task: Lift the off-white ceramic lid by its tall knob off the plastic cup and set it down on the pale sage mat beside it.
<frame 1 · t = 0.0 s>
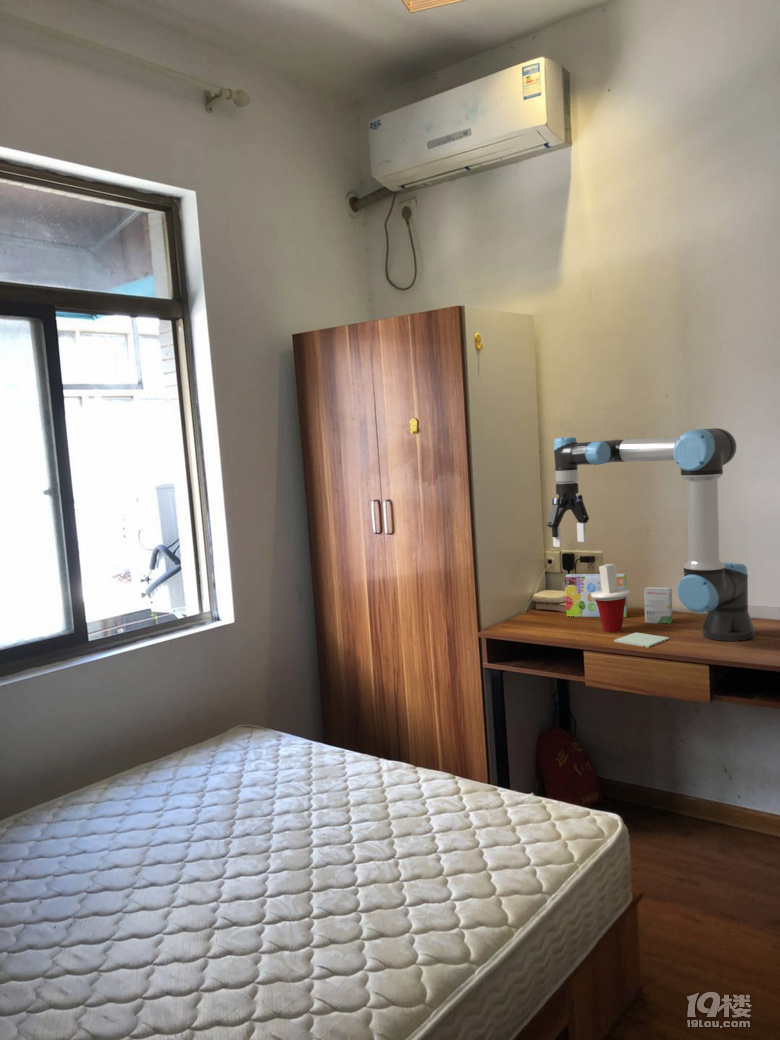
hand: (569, 544, 281), 28 cm above the table, tool pointing down, fingers open, 13 cm apart
lid: (610, 595, 269), point 12 cm above the table, touching plastic cup
snack box: (596, 616, 294), on the table
mat: (641, 640, 255), on the table
plastic cup: (611, 631, 271), on the table, touching lid
ink box: (658, 622, 278), on the table
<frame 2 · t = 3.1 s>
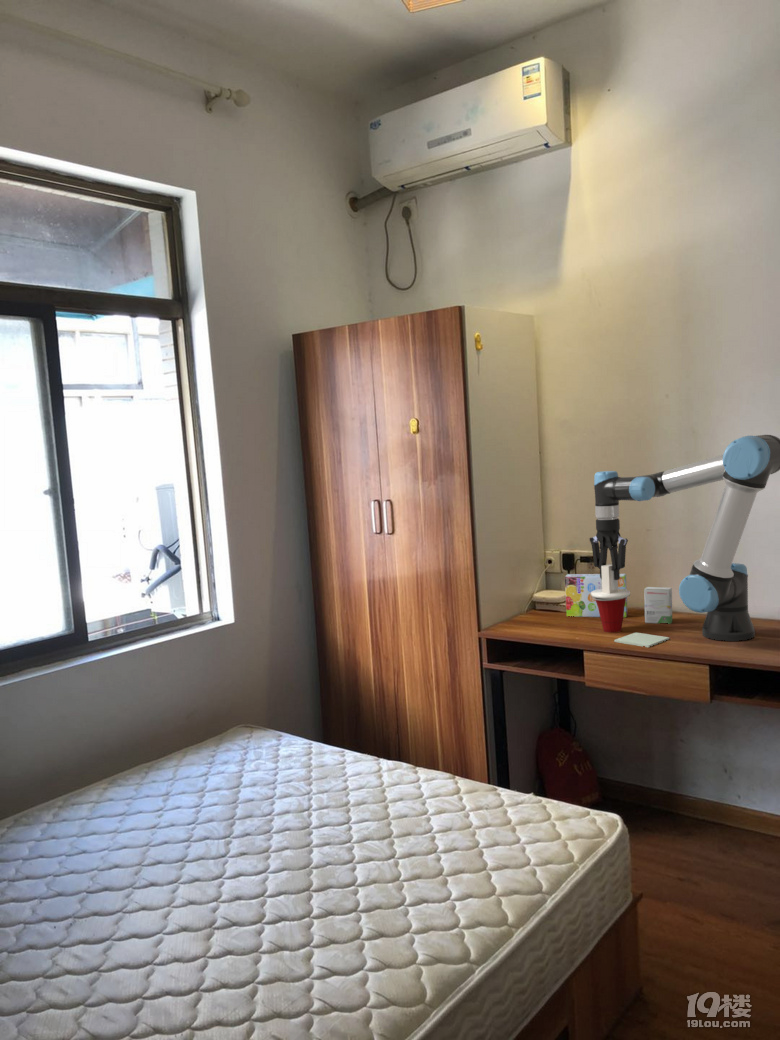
hand: (610, 588, 269), 14 cm above the table, tool pointing down, fingers closed on lid, 3 cm apart
lid: (610, 594, 269), point 12 cm above the table, touching gripper, plastic cup
everything else where it was.
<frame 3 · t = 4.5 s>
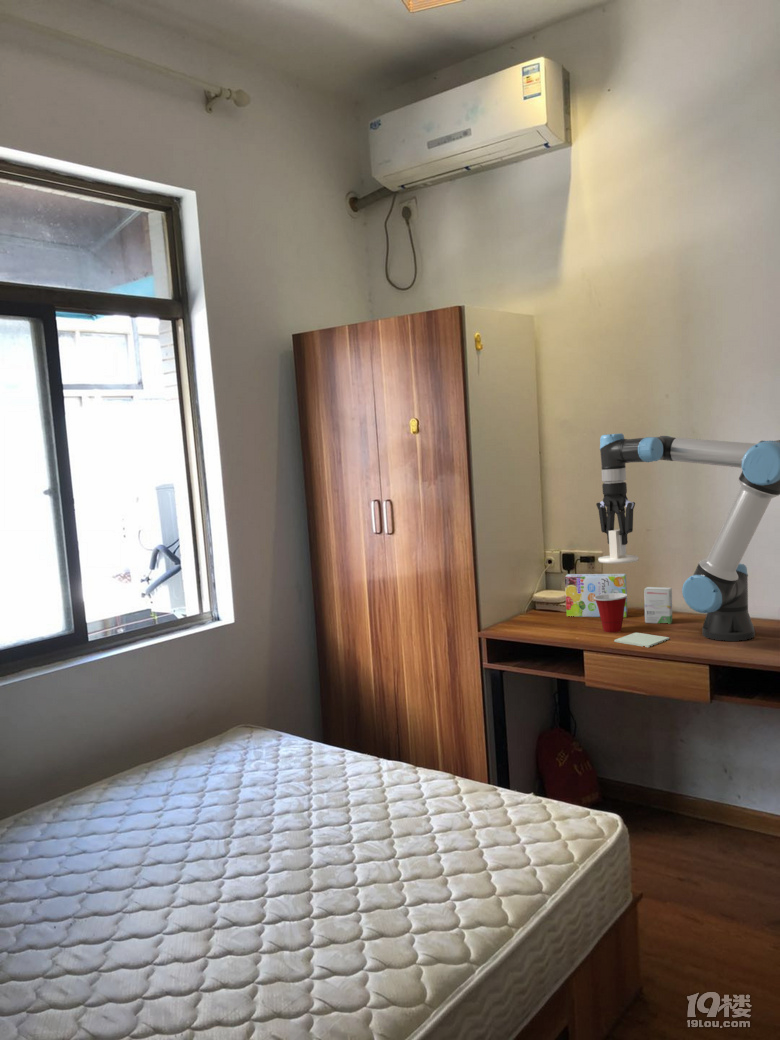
hand: (618, 554, 264), 26 cm above the table, tool pointing down, fingers closed on lid, 3 cm apart
lid: (618, 560, 264), point 24 cm above the table, touching gripper
plastic cup: (611, 631, 271), on the table
everything else where it was.
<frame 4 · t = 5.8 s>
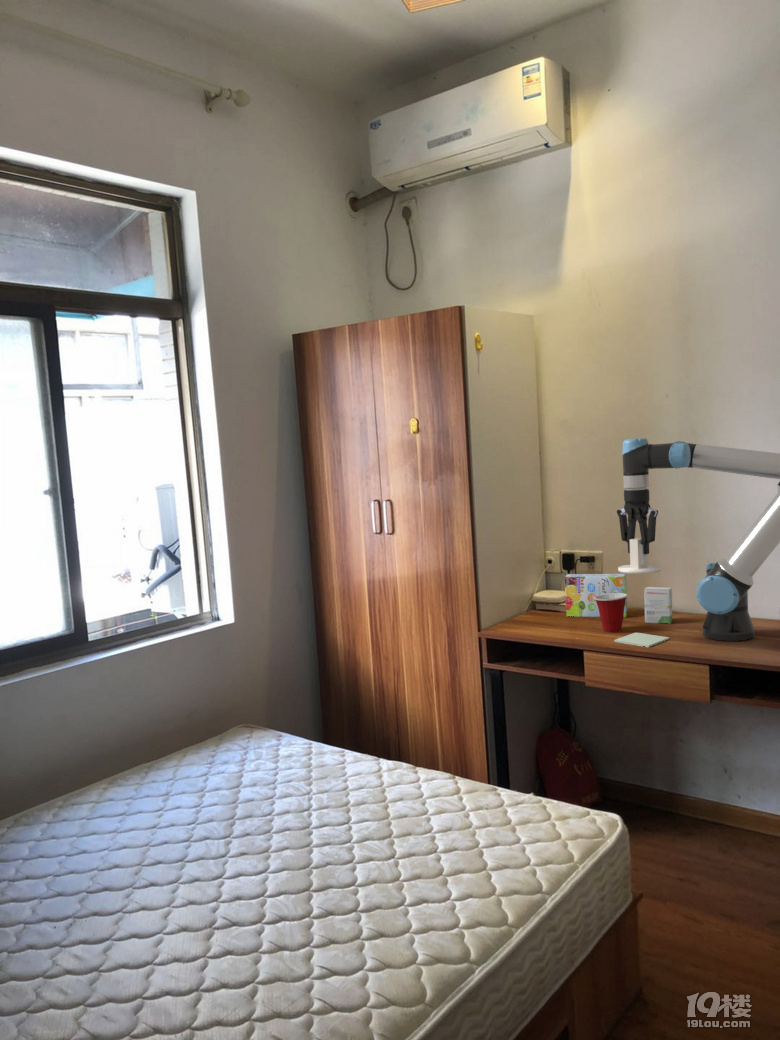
hand: (638, 564, 253), 24 cm above the table, tool pointing down, fingers closed on lid, 3 cm apart
lid: (639, 570, 253), point 22 cm above the table, touching gripper
everything else where it was.
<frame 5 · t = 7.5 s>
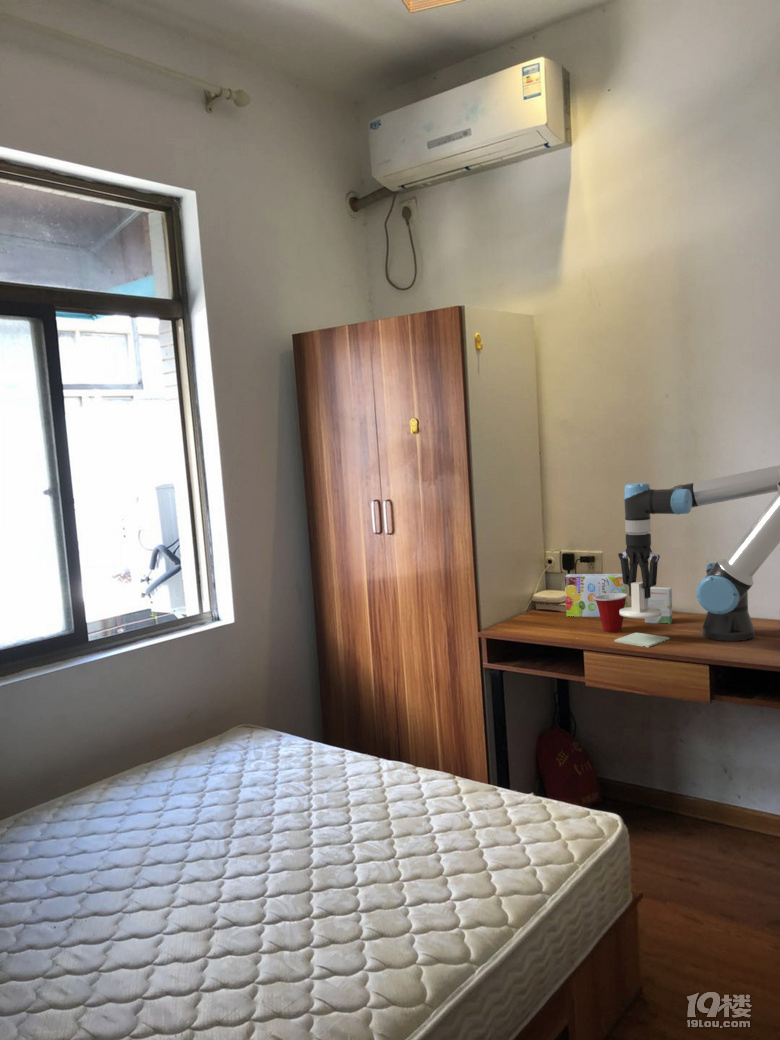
hand: (640, 607, 254), 11 cm above the table, tool pointing down, fingers closed on lid, 3 cm apart
lid: (640, 613, 255), point 8 cm above the table, touching gripper
everything else where it was.
when the fingers open (4 cm above the table, at t = 8.9 s): lid drops 1 cm, resting on mat.
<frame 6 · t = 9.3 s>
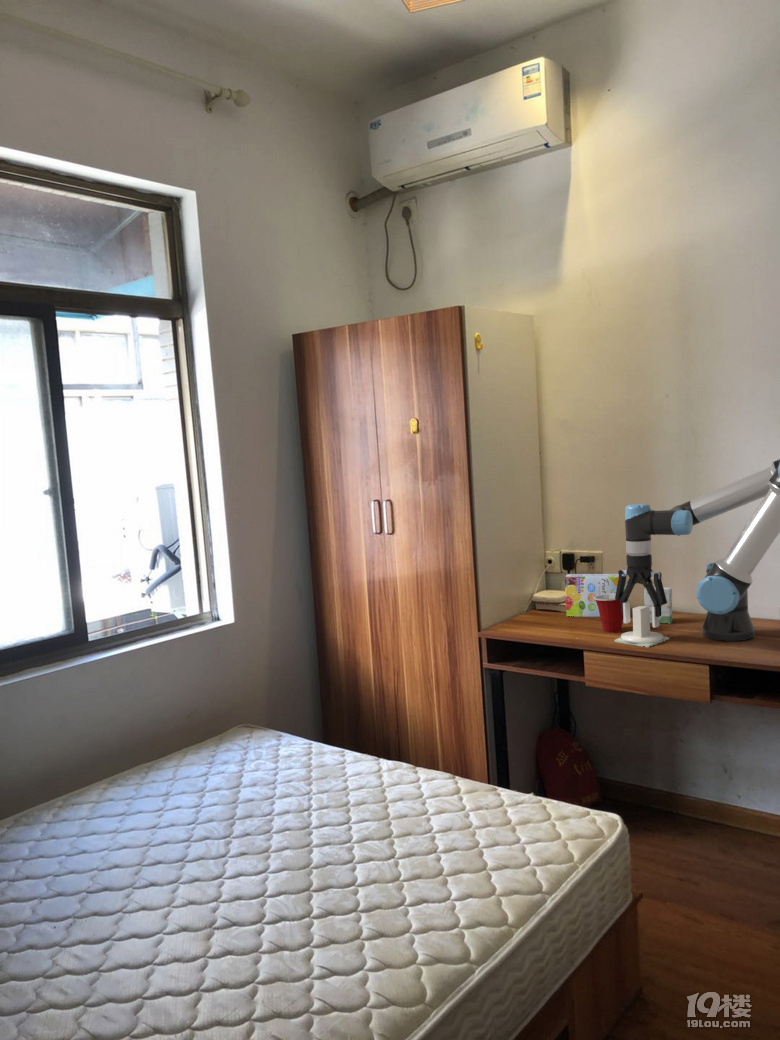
hand: (641, 624, 255), 5 cm above the table, tool pointing down, fingers open, 9 cm apart
lid: (641, 638, 255), point 1 cm above the table, touching mat
everything else where it was.
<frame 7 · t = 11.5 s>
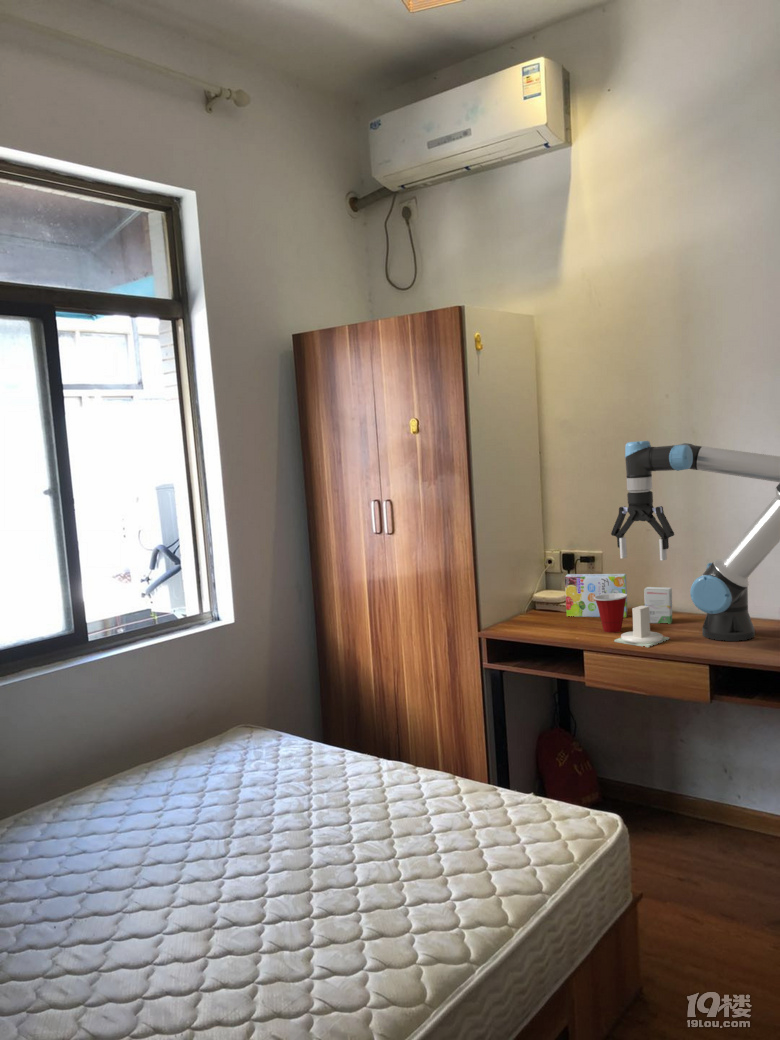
hand: (643, 559, 255), 26 cm above the table, tool pointing down, fingers open, 13 cm apart
nothing on the table moved.
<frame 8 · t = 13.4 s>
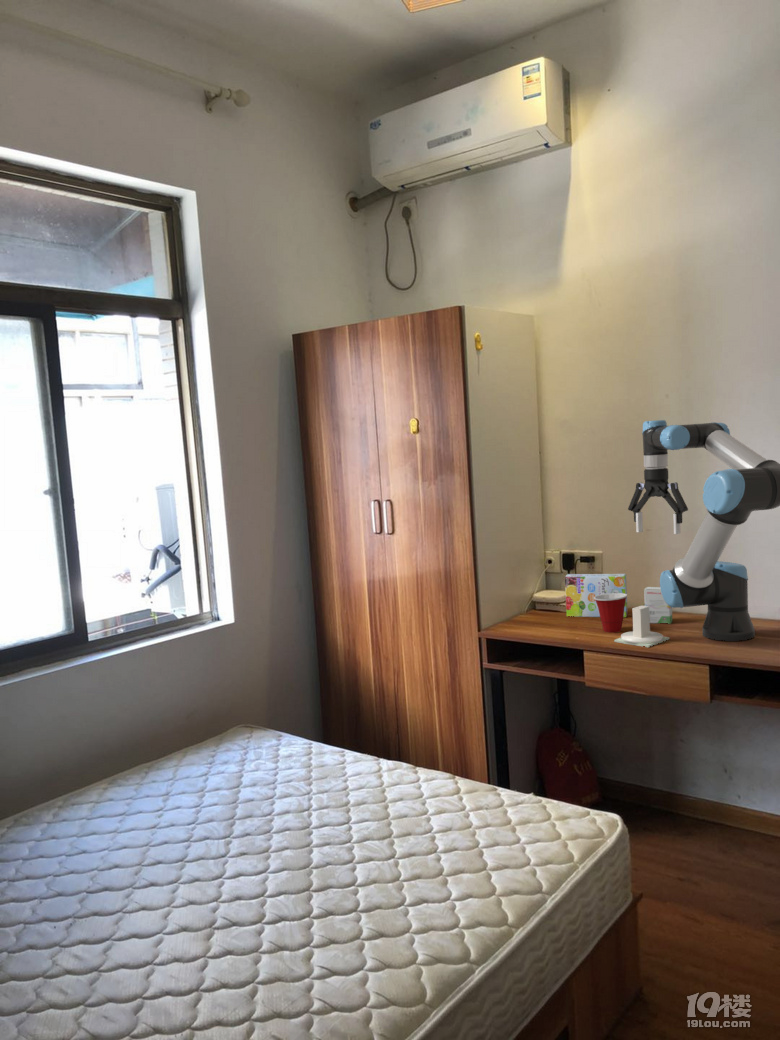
hand: (658, 532, 267), 32 cm above the table, tool pointing down, fingers open, 13 cm apart
nothing on the table moved.
at the end: lid inside the target area on the mat (0.0 cm from its centre), point 0.6 cm above the mat's base; lid touching mat; plastic cup tilted 0° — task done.
